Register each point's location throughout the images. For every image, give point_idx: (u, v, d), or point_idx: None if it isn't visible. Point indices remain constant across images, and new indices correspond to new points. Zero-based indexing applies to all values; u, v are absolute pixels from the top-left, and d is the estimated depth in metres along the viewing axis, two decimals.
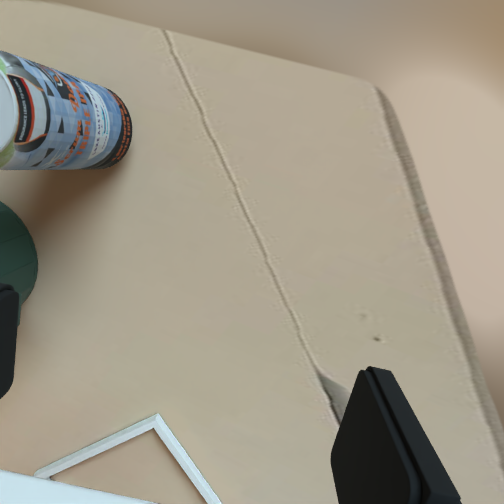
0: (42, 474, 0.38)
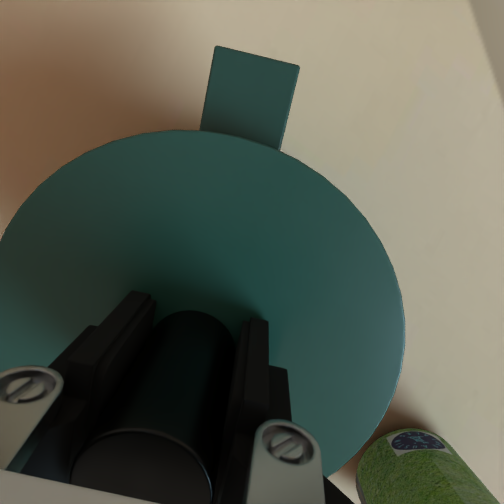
0: None
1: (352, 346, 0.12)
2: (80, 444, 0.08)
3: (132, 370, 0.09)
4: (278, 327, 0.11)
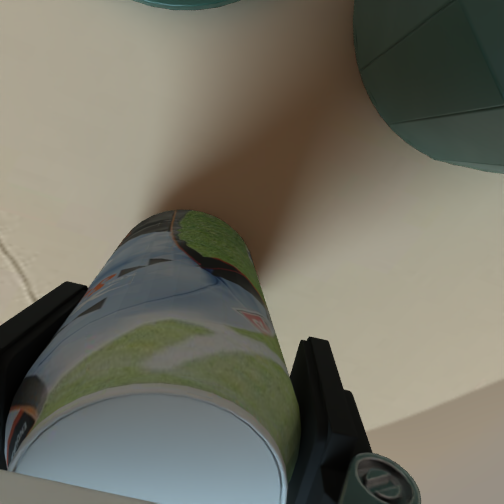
0: None
1: None
2: None
3: None
4: None
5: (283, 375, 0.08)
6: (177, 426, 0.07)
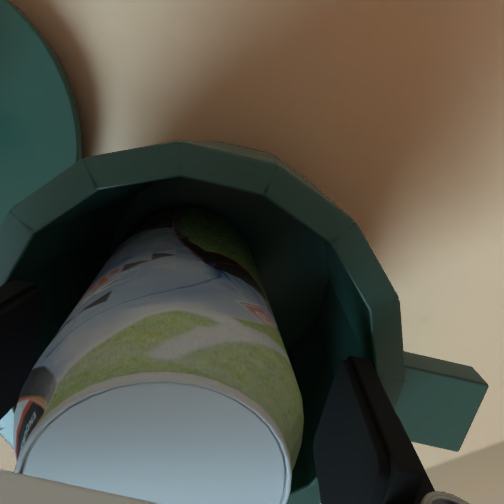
0: None
1: None
2: None
3: None
4: None
5: (286, 365, 0.08)
6: (184, 413, 0.07)
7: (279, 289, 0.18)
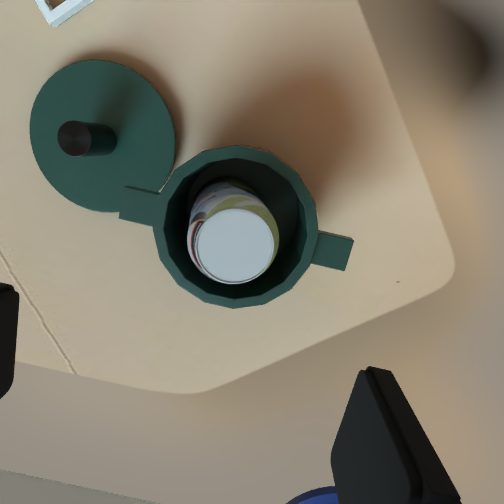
0: None
1: (109, 195, 0.35)
2: None
3: (99, 128, 0.31)
4: (113, 170, 0.34)
5: (272, 217, 0.25)
6: (243, 221, 0.24)
7: None
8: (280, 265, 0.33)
